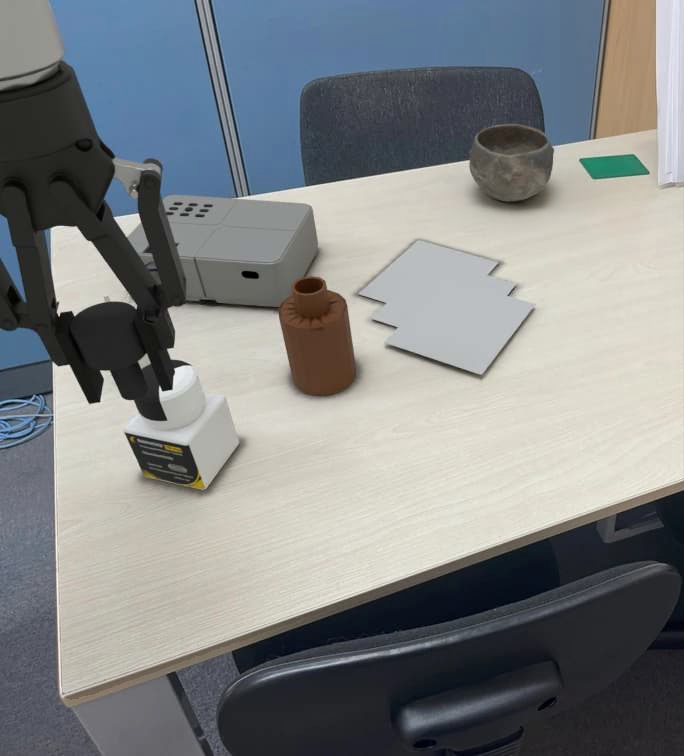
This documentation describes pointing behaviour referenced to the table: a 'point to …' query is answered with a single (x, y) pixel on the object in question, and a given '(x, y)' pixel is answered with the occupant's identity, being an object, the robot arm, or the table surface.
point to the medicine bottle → (181, 430)
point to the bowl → (511, 161)
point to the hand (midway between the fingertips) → (132, 384)
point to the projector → (236, 247)
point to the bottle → (317, 338)
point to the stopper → (112, 345)
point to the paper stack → (447, 306)
